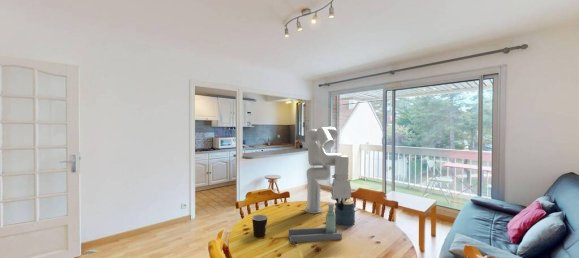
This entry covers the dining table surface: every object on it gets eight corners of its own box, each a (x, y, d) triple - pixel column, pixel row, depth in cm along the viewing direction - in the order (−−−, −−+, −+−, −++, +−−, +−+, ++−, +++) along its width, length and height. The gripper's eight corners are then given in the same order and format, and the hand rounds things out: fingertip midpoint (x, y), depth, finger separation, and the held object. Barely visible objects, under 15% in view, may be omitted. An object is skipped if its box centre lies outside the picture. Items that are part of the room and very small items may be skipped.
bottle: (324, 233, 135) (325, 202, 134) (333, 233, 136) (333, 202, 135) (327, 238, 130) (328, 205, 129) (336, 237, 130) (337, 205, 130)
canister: (359, 224, 151) (359, 197, 151) (344, 229, 144) (344, 200, 144) (344, 217, 162) (345, 192, 162) (330, 221, 155) (330, 194, 155)
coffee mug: (260, 240, 128) (261, 221, 128) (248, 236, 132) (248, 218, 132) (273, 232, 138) (273, 215, 138) (261, 228, 142) (261, 212, 142)
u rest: (288, 236, 133) (288, 229, 133) (335, 233, 138) (336, 226, 138) (291, 244, 124) (291, 236, 124) (341, 240, 129) (341, 233, 129)
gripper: (330, 178, 128) (330, 212, 128) (356, 178, 131) (355, 211, 131) (326, 175, 135) (325, 207, 136) (350, 175, 138) (349, 206, 138)
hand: (340, 209), depth 133 cm, fingers closed
